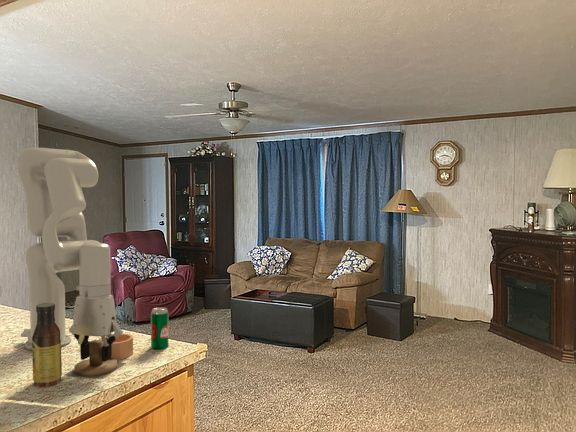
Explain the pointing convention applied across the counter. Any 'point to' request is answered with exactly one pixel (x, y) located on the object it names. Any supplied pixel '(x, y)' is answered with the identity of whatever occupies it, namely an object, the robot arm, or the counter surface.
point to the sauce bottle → (46, 348)
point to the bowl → (122, 347)
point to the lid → (95, 362)
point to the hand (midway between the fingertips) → (96, 358)
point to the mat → (95, 376)
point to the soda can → (159, 328)
